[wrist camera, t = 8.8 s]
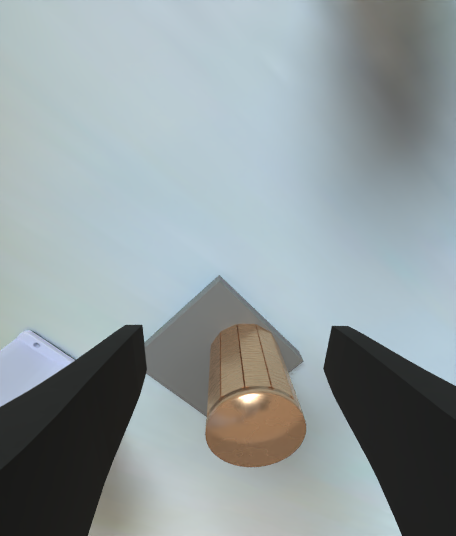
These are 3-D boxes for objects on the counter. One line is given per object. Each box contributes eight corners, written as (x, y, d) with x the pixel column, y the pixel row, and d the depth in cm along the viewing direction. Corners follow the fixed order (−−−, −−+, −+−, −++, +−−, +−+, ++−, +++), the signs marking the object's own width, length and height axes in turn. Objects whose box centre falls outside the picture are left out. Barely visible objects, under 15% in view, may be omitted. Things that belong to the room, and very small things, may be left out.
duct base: (134, 351, 20) (107, 405, 15) (219, 275, 18) (219, 309, 13) (217, 412, 23) (216, 474, 18) (299, 351, 21) (323, 403, 16)
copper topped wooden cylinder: (209, 379, 20) (205, 467, 14) (210, 322, 18) (205, 395, 12) (274, 379, 20) (298, 466, 14) (281, 323, 18) (313, 395, 12)
